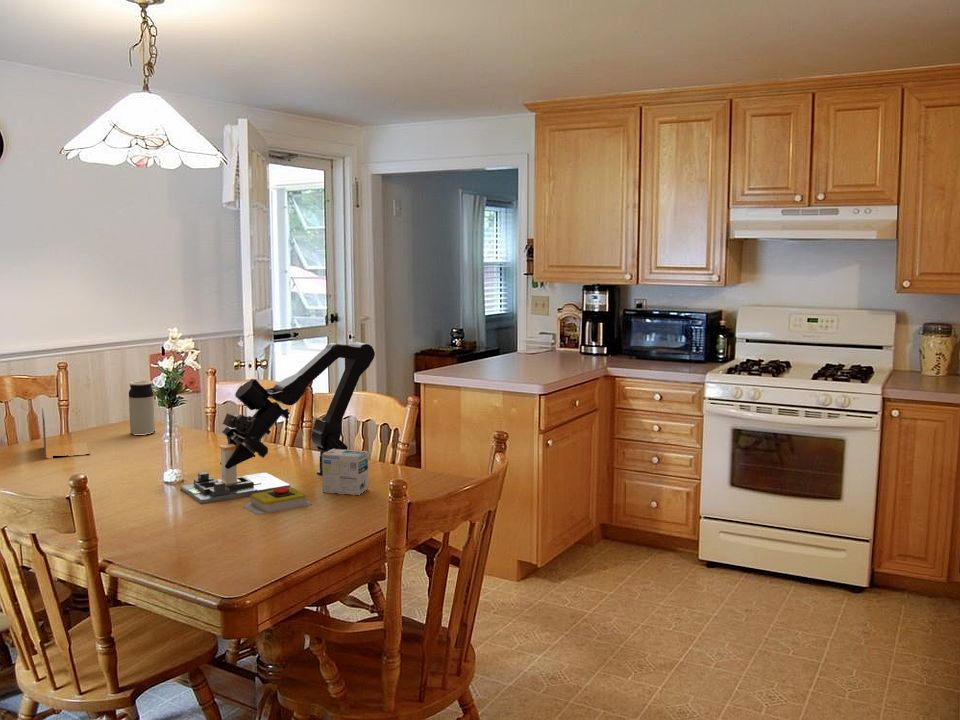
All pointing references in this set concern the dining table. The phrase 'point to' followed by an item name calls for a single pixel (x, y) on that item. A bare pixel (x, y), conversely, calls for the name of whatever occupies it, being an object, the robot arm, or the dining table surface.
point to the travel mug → (141, 407)
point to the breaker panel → (231, 487)
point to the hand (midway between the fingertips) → (223, 466)
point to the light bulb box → (345, 471)
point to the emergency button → (276, 500)
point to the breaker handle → (227, 474)
